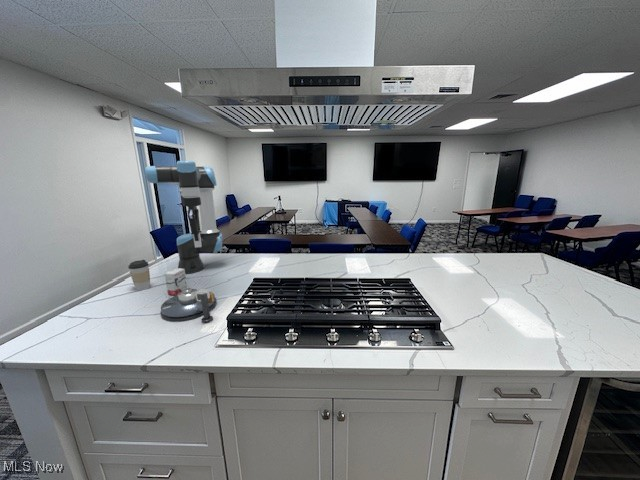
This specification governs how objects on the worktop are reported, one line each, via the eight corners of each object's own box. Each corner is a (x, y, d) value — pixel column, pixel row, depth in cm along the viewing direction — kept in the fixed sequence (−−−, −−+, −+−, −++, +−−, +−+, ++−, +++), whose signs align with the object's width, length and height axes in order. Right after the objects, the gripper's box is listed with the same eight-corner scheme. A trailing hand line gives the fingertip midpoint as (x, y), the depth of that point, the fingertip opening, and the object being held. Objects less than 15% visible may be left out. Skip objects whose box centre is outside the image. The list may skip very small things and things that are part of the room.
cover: (195, 295, 120) (194, 284, 119) (201, 301, 114) (199, 290, 113) (177, 300, 115) (175, 289, 113) (181, 307, 109) (179, 295, 108)
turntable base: (183, 295, 127) (182, 293, 127) (225, 297, 125) (225, 295, 124) (147, 320, 105) (147, 318, 105) (198, 323, 102) (198, 321, 102)
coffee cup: (138, 292, 131) (132, 265, 128) (129, 288, 136) (123, 262, 132) (156, 285, 139) (151, 260, 135) (147, 282, 143) (142, 258, 139)
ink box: (176, 295, 127) (172, 274, 124) (167, 295, 128) (164, 273, 125) (188, 288, 135) (184, 268, 132) (180, 287, 136) (177, 267, 133)
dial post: (204, 315, 108) (200, 289, 105) (216, 316, 107) (212, 289, 104) (197, 322, 103) (192, 294, 100) (209, 323, 102) (205, 295, 99)
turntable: (206, 290, 130) (204, 279, 128) (222, 305, 114) (221, 293, 112) (157, 304, 115) (154, 292, 114) (168, 324, 100) (165, 311, 98)
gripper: (185, 195, 117) (192, 243, 124) (178, 198, 105) (186, 251, 112) (202, 195, 119) (208, 242, 126) (197, 198, 107) (204, 250, 114)
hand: (198, 246), depth 119 cm, fingers closed
